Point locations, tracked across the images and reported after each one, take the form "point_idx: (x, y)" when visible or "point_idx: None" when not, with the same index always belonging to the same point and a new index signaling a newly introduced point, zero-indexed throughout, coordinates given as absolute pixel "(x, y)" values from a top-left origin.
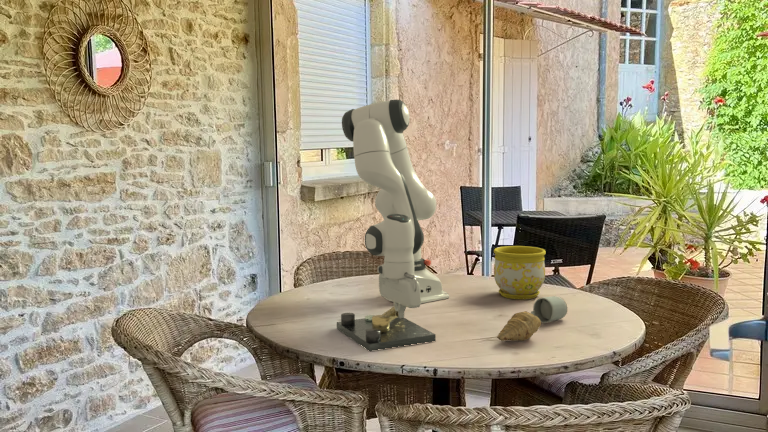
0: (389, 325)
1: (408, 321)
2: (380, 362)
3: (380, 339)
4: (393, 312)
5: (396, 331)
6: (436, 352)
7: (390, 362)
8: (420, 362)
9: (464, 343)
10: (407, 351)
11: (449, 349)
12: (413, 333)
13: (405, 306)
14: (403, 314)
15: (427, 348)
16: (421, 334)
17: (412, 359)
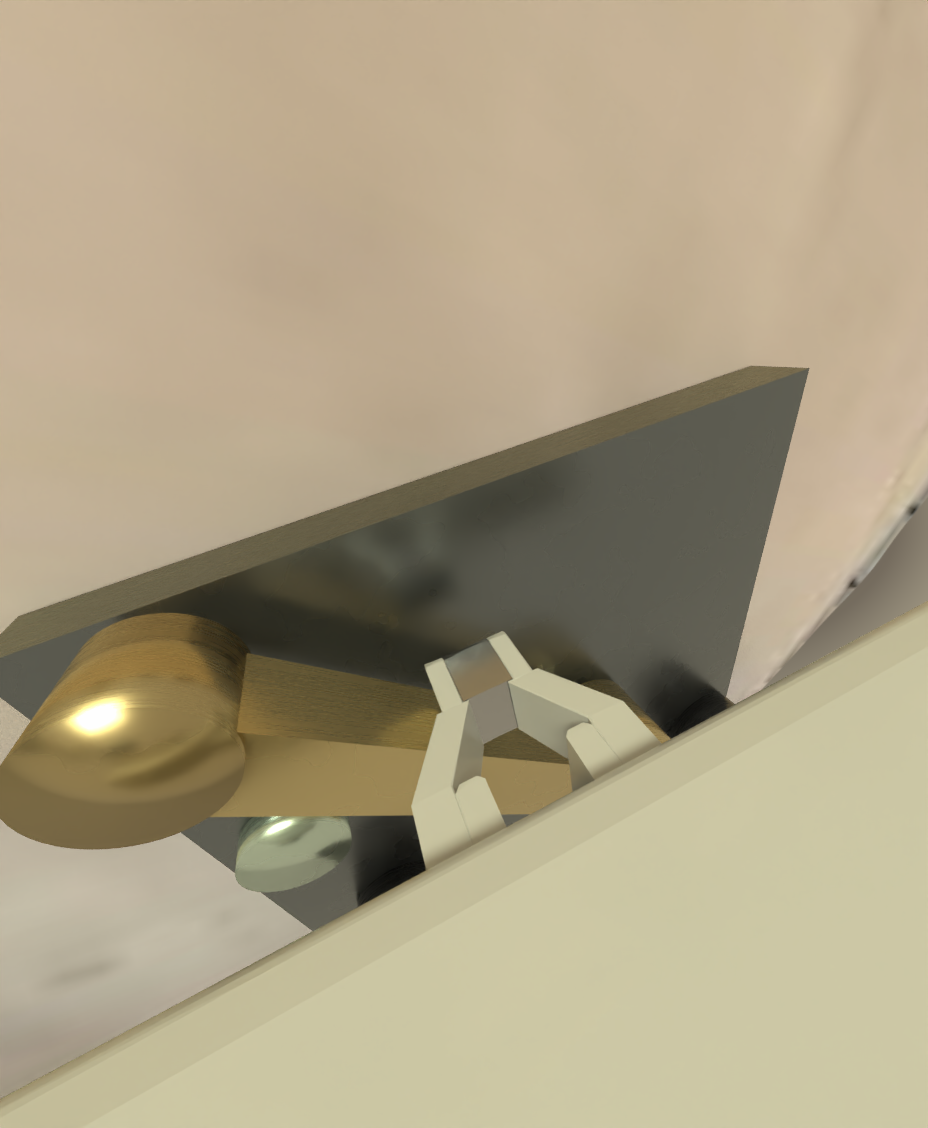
0: (630, 704)
1: (389, 545)
2: (789, 653)
3: (728, 700)
4: (503, 756)
5: (622, 637)
6: (864, 421)
7: (809, 623)
8: (879, 521)
9: (908, 108)
10: (770, 561)
11: (889, 320)
12: (707, 534)
13: (623, 711)
14: (515, 653)
15: (800, 456)
16: (751, 482)
17: (841, 548)
